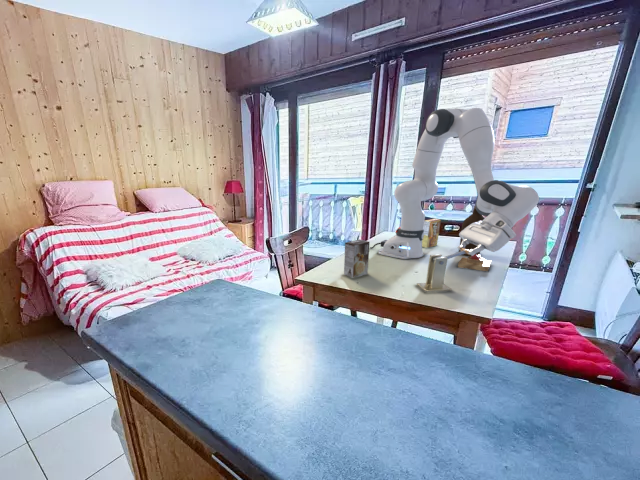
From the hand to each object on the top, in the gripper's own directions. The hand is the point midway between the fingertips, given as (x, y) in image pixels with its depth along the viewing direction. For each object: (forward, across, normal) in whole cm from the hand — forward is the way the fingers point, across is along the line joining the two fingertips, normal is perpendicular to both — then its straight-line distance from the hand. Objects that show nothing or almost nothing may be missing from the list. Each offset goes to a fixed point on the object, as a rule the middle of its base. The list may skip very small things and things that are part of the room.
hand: (464, 251), depth 127 cm
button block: (-4, -24, +26) cm, 35 cm away
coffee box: (+36, -20, -15) cm, 44 cm away
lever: (+5, 0, -1) cm, 5 cm away
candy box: (-2, -61, +24) cm, 66 cm away
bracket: (+18, 0, +4) cm, 18 cm away
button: (-7, -24, +23) cm, 34 cm away
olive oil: (-10, -42, +32) cm, 54 cm away
